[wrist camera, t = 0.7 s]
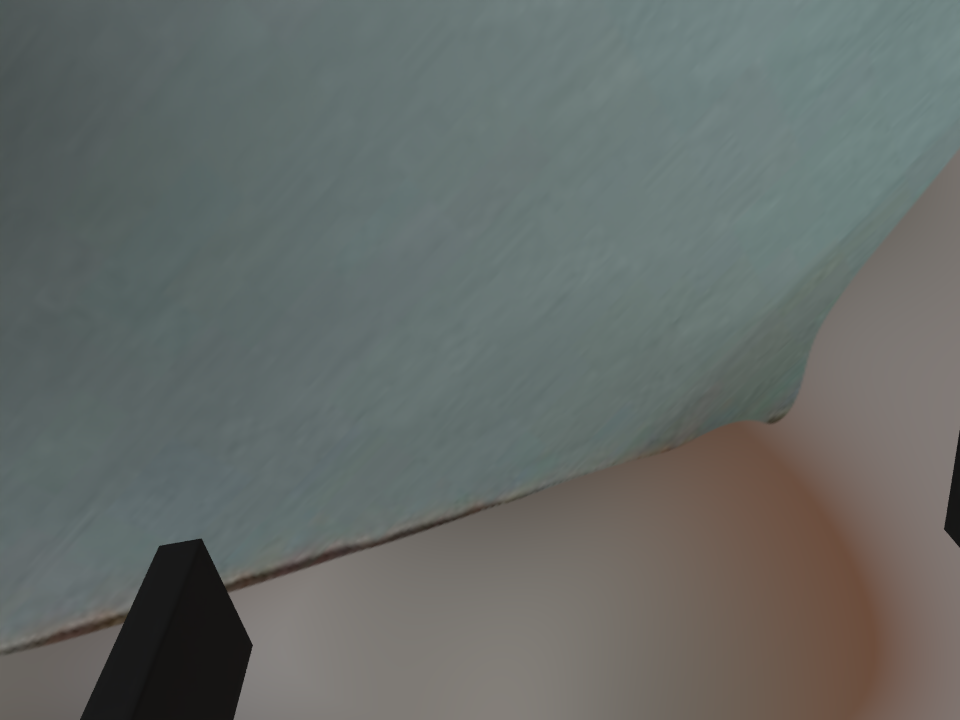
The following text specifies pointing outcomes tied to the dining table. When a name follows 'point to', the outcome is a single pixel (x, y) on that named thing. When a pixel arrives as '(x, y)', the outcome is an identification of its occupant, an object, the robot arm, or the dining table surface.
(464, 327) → the dining table surface
